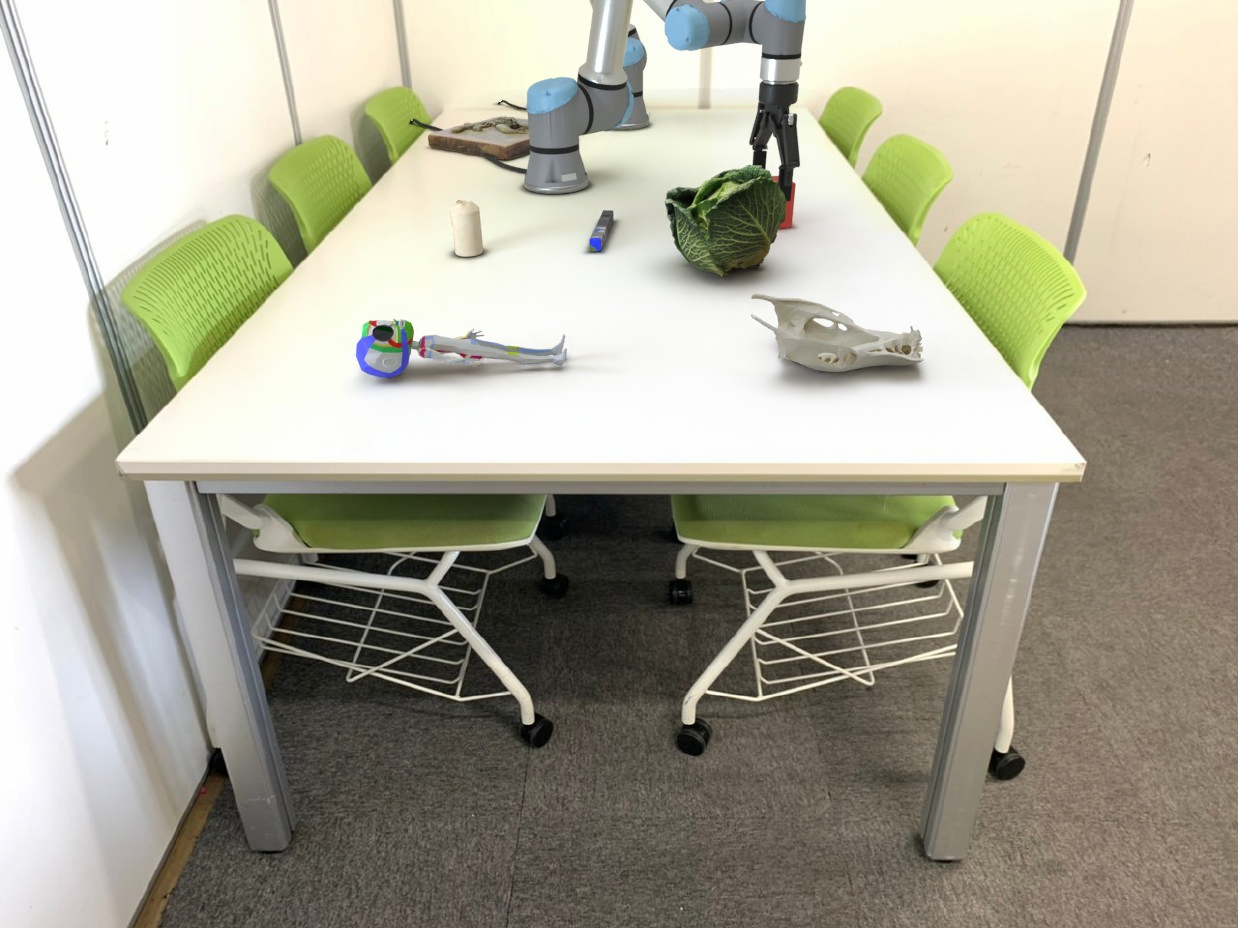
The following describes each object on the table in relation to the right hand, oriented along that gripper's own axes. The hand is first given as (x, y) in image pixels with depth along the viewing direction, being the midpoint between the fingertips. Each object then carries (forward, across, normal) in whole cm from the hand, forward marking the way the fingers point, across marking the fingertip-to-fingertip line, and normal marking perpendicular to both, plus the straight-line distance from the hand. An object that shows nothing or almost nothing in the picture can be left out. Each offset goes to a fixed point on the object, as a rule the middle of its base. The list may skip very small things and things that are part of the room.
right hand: (738, 17), depth 265 cm
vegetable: (+28, -127, +50) cm, 139 cm away
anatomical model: (+28, -169, +48) cm, 178 cm away
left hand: (+21, -105, +32) cm, 112 cm away
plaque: (+28, -14, +74) cm, 81 cm away
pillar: (+28, -102, +67) cm, 125 cm away
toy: (+28, -156, +101) cm, 188 cm away
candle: (+28, -104, +94) cm, 144 cm away
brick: (+28, -105, +32) cm, 113 cm away
